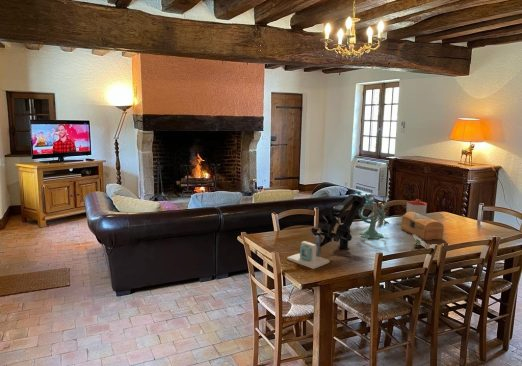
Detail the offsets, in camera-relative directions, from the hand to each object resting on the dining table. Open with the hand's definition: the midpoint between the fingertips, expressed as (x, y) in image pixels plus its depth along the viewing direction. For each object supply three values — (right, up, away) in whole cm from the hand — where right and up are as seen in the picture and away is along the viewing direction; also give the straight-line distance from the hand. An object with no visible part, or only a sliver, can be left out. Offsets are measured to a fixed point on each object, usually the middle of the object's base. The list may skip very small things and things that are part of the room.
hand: (318, 245), depth 243 cm
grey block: (-4, -6, -3) cm, 7 cm away
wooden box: (+85, 0, +56) cm, 102 cm away
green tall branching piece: (+47, -1, +48) cm, 67 cm away
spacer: (-9, -6, -7) cm, 13 cm away
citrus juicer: (+93, +5, +89) cm, 129 cm away
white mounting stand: (-7, -8, -5) cm, 12 cm away
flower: (+67, -6, +22) cm, 71 cm away
